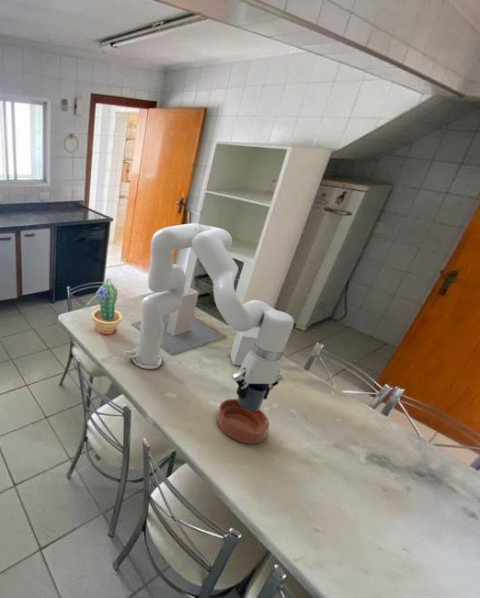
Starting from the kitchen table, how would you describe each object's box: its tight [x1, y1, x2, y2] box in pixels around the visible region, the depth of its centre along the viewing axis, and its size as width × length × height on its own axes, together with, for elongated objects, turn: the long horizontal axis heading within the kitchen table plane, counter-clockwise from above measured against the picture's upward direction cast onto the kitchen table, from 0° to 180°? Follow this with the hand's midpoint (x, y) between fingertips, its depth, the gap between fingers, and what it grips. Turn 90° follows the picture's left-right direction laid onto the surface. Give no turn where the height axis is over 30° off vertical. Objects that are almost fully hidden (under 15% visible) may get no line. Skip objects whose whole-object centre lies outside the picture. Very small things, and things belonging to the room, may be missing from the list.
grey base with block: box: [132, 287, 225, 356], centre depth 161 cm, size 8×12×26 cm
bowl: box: [215, 398, 270, 445], centre depth 110 cm, size 15×15×5 cm
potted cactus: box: [91, 281, 124, 335], centre depth 158 cm, size 15×15×25 cm
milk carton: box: [229, 326, 260, 367], centre depth 140 cm, size 7×7×19 cm
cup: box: [236, 381, 268, 411], centre depth 105 cm, size 7×7×8 cm
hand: (251, 396), depth 105 cm, fingers closed on cup, 6 cm apart
